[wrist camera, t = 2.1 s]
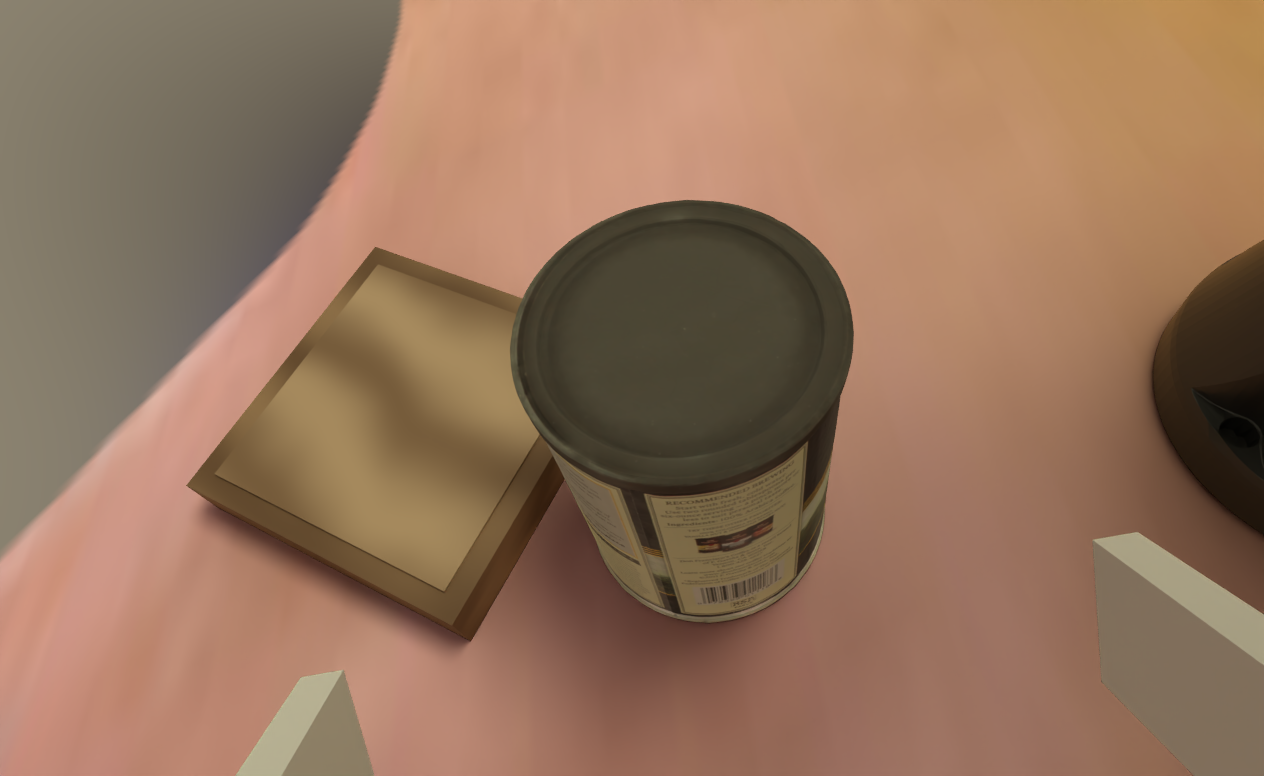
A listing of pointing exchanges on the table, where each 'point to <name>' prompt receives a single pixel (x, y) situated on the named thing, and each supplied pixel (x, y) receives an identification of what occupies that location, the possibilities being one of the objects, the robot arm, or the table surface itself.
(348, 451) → the walnut board
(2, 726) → the table surface
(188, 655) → the table surface
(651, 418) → the coffee can
